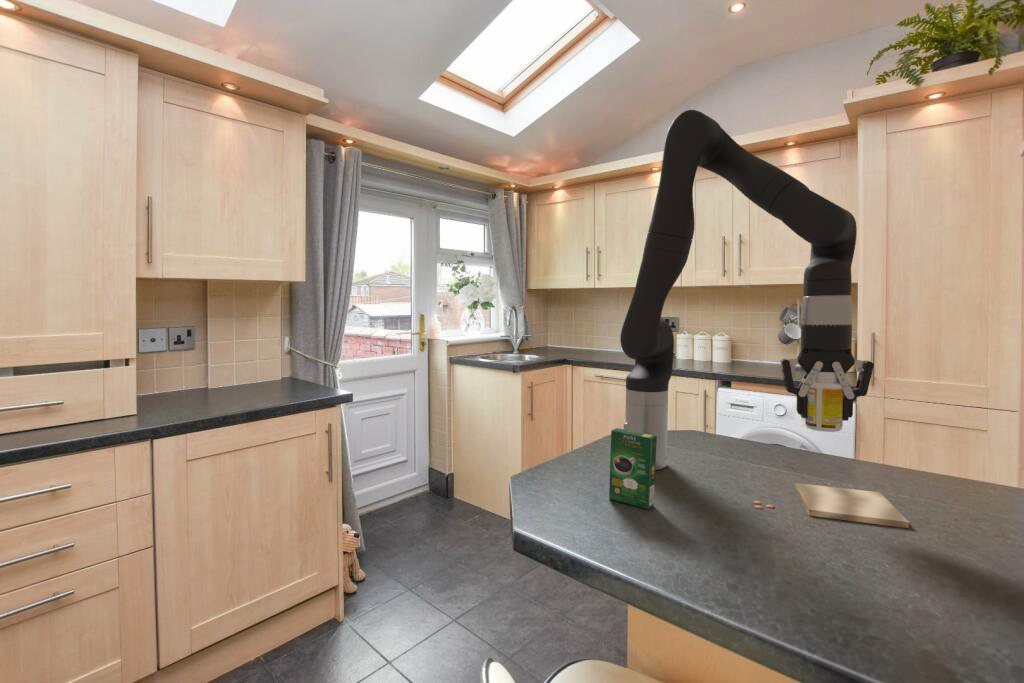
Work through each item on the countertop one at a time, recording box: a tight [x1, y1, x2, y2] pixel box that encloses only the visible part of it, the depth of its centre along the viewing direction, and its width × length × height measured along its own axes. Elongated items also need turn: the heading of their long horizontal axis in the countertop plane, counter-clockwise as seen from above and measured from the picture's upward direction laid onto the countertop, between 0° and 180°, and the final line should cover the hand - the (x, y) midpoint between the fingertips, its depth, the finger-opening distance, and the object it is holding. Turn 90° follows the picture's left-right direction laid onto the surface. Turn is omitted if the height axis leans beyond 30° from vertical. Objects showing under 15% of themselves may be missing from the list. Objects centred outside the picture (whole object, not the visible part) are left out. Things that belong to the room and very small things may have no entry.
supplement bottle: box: [804, 372, 843, 433], centre depth 87 cm, size 6×6×10 cm
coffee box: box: [608, 427, 657, 510], centre depth 90 cm, size 8×3×13 cm, turn 52°
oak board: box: [794, 482, 910, 529], centre depth 89 cm, size 14×14×1 cm
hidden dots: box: [752, 500, 776, 510], centre depth 89 cm, size 3×4×1 cm
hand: (823, 418), depth 87 cm, fingers closed on supplement bottle, 5 cm apart
